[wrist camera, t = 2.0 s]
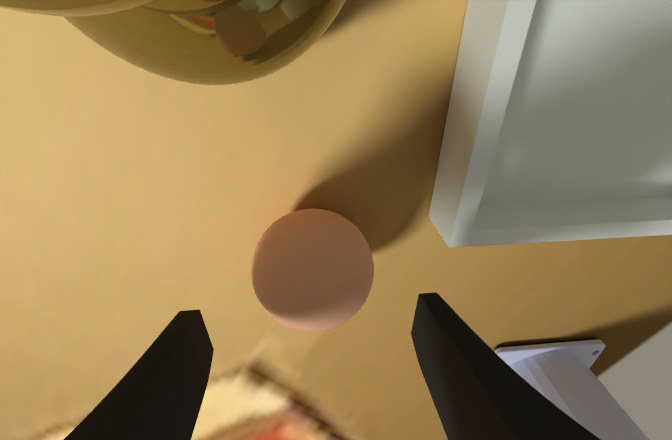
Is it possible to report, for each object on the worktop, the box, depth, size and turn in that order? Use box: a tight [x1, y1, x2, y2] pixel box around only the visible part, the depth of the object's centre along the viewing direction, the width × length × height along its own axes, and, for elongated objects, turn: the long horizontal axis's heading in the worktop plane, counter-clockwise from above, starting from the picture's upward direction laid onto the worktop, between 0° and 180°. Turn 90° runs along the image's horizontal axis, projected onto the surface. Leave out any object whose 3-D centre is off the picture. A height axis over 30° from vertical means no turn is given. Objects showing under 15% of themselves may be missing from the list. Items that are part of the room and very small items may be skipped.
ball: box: [251, 209, 374, 332], centre depth 13 cm, size 5×5×5 cm
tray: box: [429, 0, 672, 247], centre depth 11 cm, size 13×13×2 cm
